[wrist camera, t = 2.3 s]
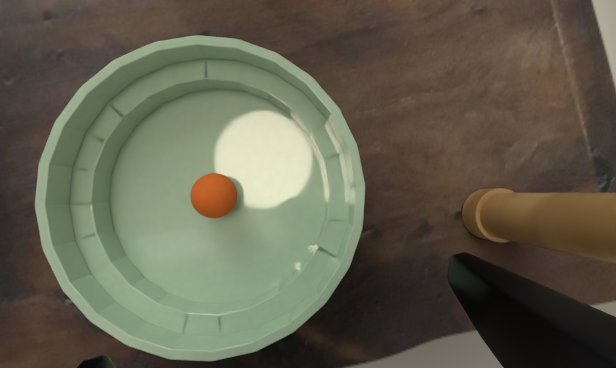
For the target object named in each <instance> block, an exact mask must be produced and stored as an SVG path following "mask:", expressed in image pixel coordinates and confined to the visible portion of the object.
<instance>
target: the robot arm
mask: <svg viewBox="0 0 616 368" xmlns="http://www.w3.org/2000/svg"><path fill="white" fill-rule="evenodd" d="M448 282H449V285H450V287H451V288H452V290H453V292H454V293H455V295H456V297H457V298H458V300H459V302H460V303H461V305H462V307H463V308H464V310H465V312H466V313H467V315H468V316H469V318H470V320H471V321H472V323H473V325H474V326H475V328H476V330H477V331H478V333H479V334H480V336H481V337H482V339H483V340H484V341H485V343H486V344H487V346H488V347H489V348H490V350H491V351H492V353H493V354H494V355H495V357H496V358H497V359H498V361H499V362H500V363H501V365H502V366H503V367H504V368H616V317H614V316H612V315H610V314H607V313H605V312H603V311H600V310H598V309H596V308H593V307H591V306H589V305H587V304H584V303H582V302H580V301H577V300H575V299H573V298H570V297H568V296H566V295H564V294H561V293H559V292H557V291H554V290H552V289H550V288H547V287H545V286H543V285H540V284H538V283H536V282H534V281H531V280H529V279H527V278H524V277H522V276H520V275H517V274H515V273H513V272H510V271H508V270H506V269H504V268H501V267H499V266H497V265H494V264H492V263H490V262H487V261H485V260H483V259H480V258H478V257H476V256H474V255H471V254H469V253H466V252H462V253H458V254H455V255H452V256H451V257H450V259H449V267H448ZM77 368H116V366H115V365H114V363H113V362H112V361H111V359H110V358H109V356H108V355H106V354H100V355H97V356H93V357H90V358H87V359H85V360H84V361H83V362H82V363H81V364H80V365H79V366H78V367H77Z"/></svg>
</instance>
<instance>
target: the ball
mask: <svg viewBox="0 0 616 368" xmlns="http://www.w3.org/2000/svg"><path fill="white" fill-rule="evenodd" d="M190 198H191V203H192V205H193V207H194V209H195V210H196V211H197V212H198V213H199V214H201V215H203V216H205V217H208V218H219V217H222V216H225V215H226V214H228V213H229V212H230V211H231V210H232V209H233V208H234V206H235V204H236V201H237V190H236V187H235V185H234V183H233V182H232V181H231V180H230V179H229V178H228V177H226V176H224V175H222V174H218V173H210V174H206V175H204V176H202V177H200V178H199V179H198V180H197V181H196V182H195V183H194V185H193V187H192V189H191V194H190Z"/></svg>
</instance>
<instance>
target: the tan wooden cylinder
mask: <svg viewBox="0 0 616 368" xmlns="http://www.w3.org/2000/svg"><path fill="white" fill-rule="evenodd" d="M462 217H463V222H464V224H465V226H466V228H467V229H468V230H469V231H470V232H471V233H472V234H473V235H475V236H477V237H479V238H482V239H487V240H491V241H495V242H508V241H514V242H519V243H523V244H528V245H532V246H537V247H541V248H546V249H550V250H555V251H560V252H564V253H569V254H573V255H578V256H582V257H587V258H591V259H596V260H600V261H605V262H609V263H614V264H616V193H515V192H513V191H511V190H508V189H481V190H478V191H475V192H474V193H472V194H471V195H470V196H469V197H468V198H467V199H466V201H465V203H464V205H463V209H462Z"/></svg>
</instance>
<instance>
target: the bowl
mask: <svg viewBox="0 0 616 368" xmlns="http://www.w3.org/2000/svg"><path fill="white" fill-rule="evenodd" d="M210 173H218V174H222V175H224V176H226V177H228V178H229V179H230V180H231V181H232V182H233V183H234V185H235V187H236V190H237V201H236V204H235V206H234V208H233V209H232V210H231V211H230V212H229V213H228V214H226V215H225V216H222V217H219V218H208V217H205V216H203V215H201V214H199V213H198V212H197V211H196V210H195V209H194V207H193V205H192V203H191V198H190V194H191V189H192V187H193V185H194V183H195V182H196V181H197V180H198V179H199V178H200V177H202V176H204V175H206V174H210ZM364 201H365V181H364V176H363V171H362V166H361V161H360V156H359V151H358V146H357V143H356V141H355V139H354V137H353V135H352V133H351V131H350V129H349V127H348V125H347V123H346V121H345V119H344V117H343V115H342V113H341V111H340V109H339V107H338V106H337V105H336V104H335V103H334V102H333V100H332V99H331V98H330V97H329V96H328V95H327V93H326V92H325V91H324V90H323V89H322V88H321V87H320V85H319V84H318V83H317V82H316V81H315V80H314V78H313V77H311V76H310V75H309V74H307V73H306V72H304V71H303V70H301V69H300V68H298V67H297V66H295V65H294V64H293V63H291V62H290V61H288V60H287V59H285V58H284V57H282V56H281V55H279V54H277V53H276V52H273V51H270V50H267V49H264V48H262V47H259V46H256V45H253V44H250V43H248V42H245V41H242V40H239V39H232V38H221V37H210V36H199V35H196V36H195V35H194V36H188V37H182V38H176V39H170V40H164V41H158V42H154V43H151V44H148V45H146V46H144V47H142V48H139V49H137V50H135V51H133V52H130V53H128V54H126V55H124V56H122V57H119V58H117V59H115V61H114V60H113V61H112V62H111V63H110V64H108V65H107V66H106V67H105V68H103V69H102V70H101V71H100V72H98V73H97V74H96V75H95V76H93V77H92V78H91V79H90V80H88V81H87V82H86V83H85V84H84V85H82V86H81V88H79V90H78V91H77V92H76V94H75V95H74V96H73V98H72V99H71V100H70V102H69V103H68V105H67V106H66V107H65V109H64V110H63V111H62V113H61V114H60V116H59V117H58V118H57V120H56V121H55V123H54V125H53V128H52V130H51V133H50V135H49V138H48V141H47V143H46V146H45V148H44V151H43V154H42V156H41V159H40V163H39V167H38V177H37V188H36V198H35V210H36V216H37V221H38V227H39V233H40V238H41V244H42V249H43V251H44V253H45V256H46V258H47V260H48V262H49V264H50V266H51V268H52V270H53V272H54V274H55V276H56V279H57V281H58V283H59V285H60V287H61V288H62V290H63V291H64V292H65V294H66V295H67V296H68V297H69V298H70V299H71V300H72V302H73V303H74V304H75V305H76V306H77V307H78V308H79V310H80V311H81V312H82V313H83V314H84V315H85V316H86V318H87V319H88V320H89V321H91V322H92V323H93V324H95V325H96V326H98V327H99V328H101V329H102V330H104V331H105V332H107V333H108V334H110V335H111V336H113V337H115V338H116V339H118V340H119V341H121V342H122V343H124V344H125V345H127V346H130V347H133V348H136V349H139V350H142V351H145V352H148V353H151V354H154V355H158V356H161V357H164V358H167V359H174V360H195V361H216V360H220V359H225V358H229V357H234V356H239V355H243V354H248V353H253V352H256V351H258V350H260V349H262V348H264V347H266V346H268V345H270V344H272V343H274V342H276V341H278V340H280V339H282V338H284V337H286V336H288V335H289V334H291V333H293V332H294V331H296V330H297V329H298V328H299V327H300V326H301V325H302V324H304V323H305V322H306V321H307V320H308V319H309V318H310V317H311V316H312V315H314V314H315V313H316V312H317V311H318V310H319V309H320V308H321V307H323V306H324V305H325V303H326V302H327V301H328V300H329V298H330V297H331V295H332V294H333V292H334V290H335V289H336V287H337V286H338V284H339V283H340V281H341V280H342V278H343V277H344V275H345V274H346V272H347V271H348V269H349V267H350V265H351V262H352V259H353V256H354V253H355V250H356V247H357V244H358V241H359V238H360V235H361V232H362V229H363V228H362V227H363V217H364Z"/></svg>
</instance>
